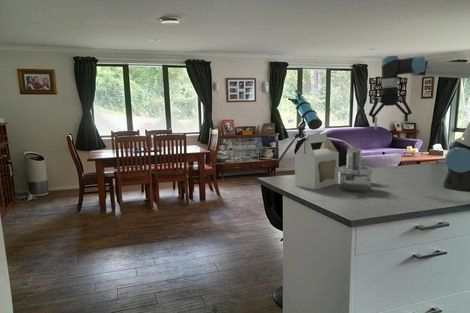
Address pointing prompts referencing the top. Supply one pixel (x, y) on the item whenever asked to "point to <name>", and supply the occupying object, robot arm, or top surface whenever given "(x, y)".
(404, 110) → the robot arm
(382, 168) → the top surface
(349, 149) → the milk carton
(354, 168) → the lid
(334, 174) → the gable box
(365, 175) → the pot
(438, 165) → the top surface
